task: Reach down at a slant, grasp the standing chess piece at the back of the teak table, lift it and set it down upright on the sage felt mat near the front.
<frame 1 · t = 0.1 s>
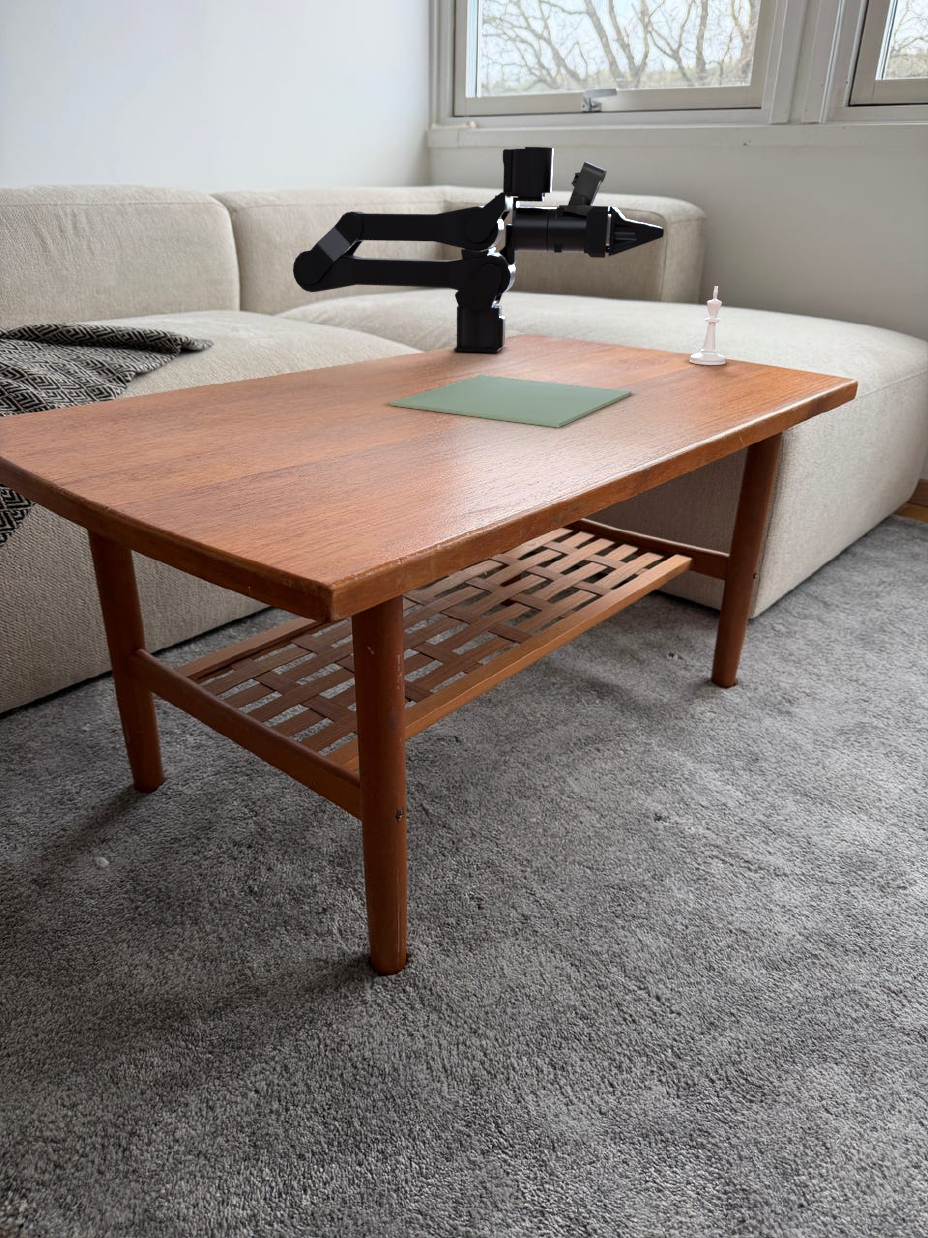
hand: (663, 231, 125), 17 cm above the table, tool horizontal, fingers open, 9 cm apart
felt mat: (514, 399, 102), on the table
chess piece: (707, 363, 127), on the table
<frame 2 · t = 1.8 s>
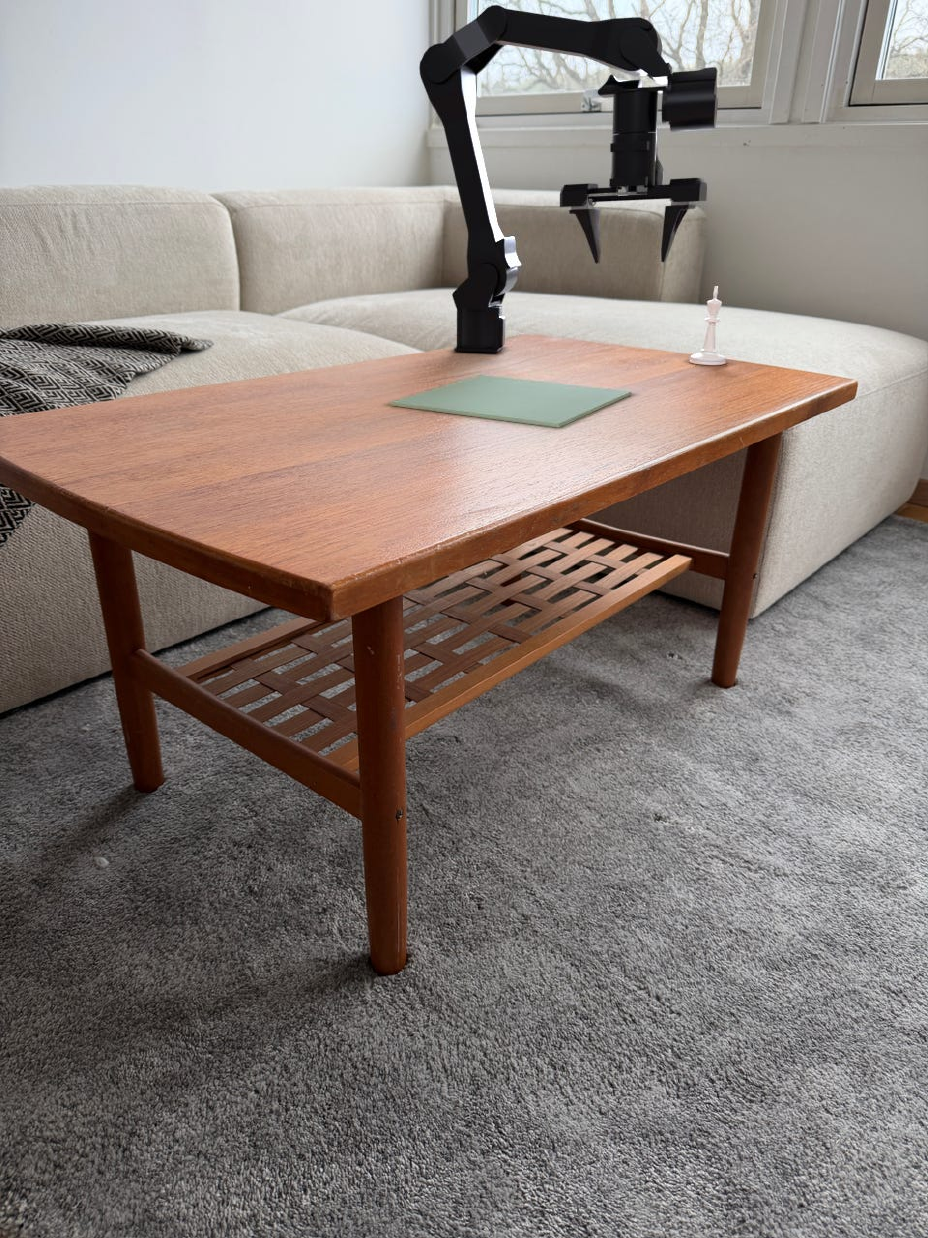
hand: (630, 262, 125), 13 cm above the table, tool pointing down, fingers open, 9 cm apart
nothing on the table moved.
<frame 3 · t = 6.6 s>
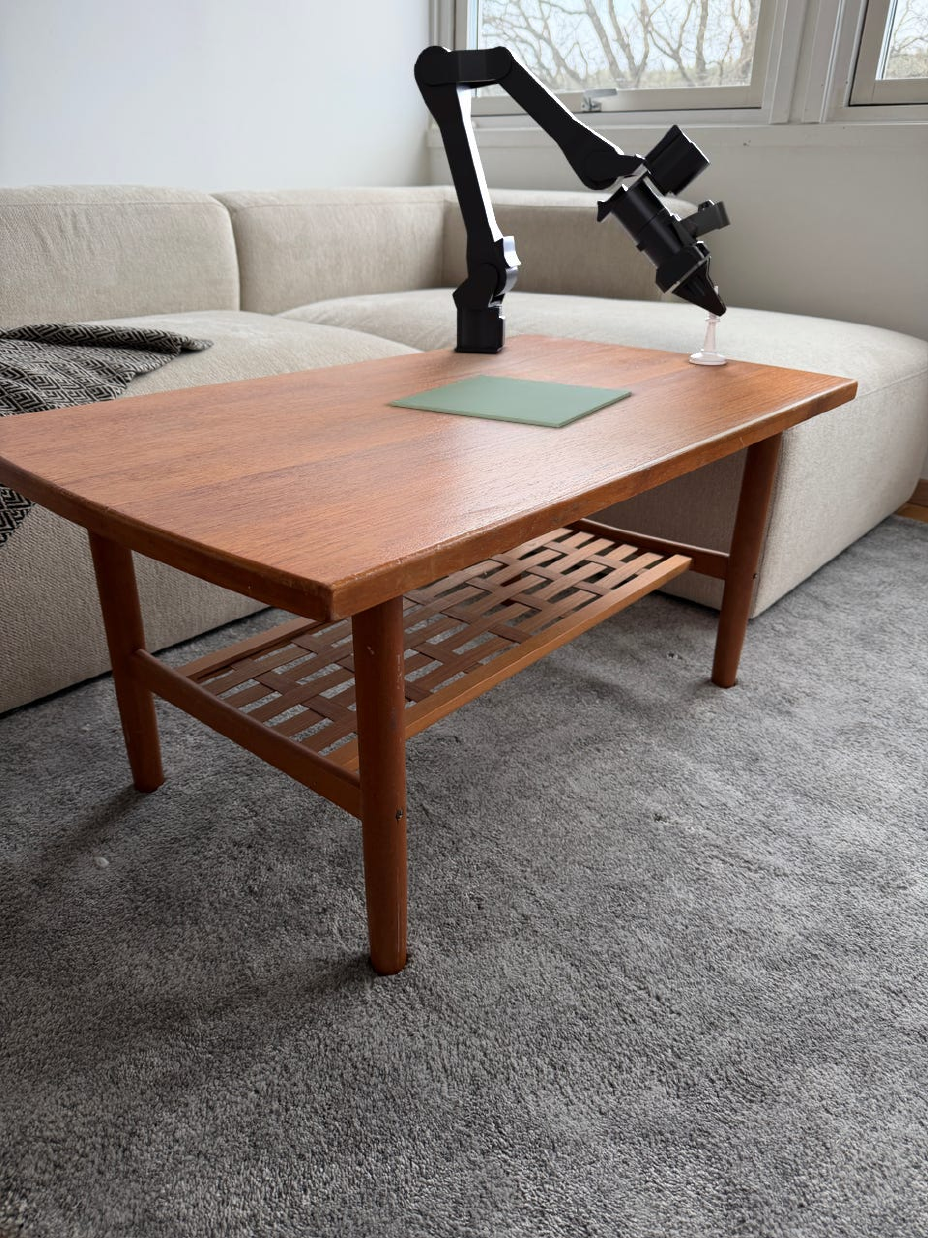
hand: (723, 313, 124), 7 cm above the table, tool tilted 45°, fingers closed on chess piece
chess piece: (707, 363, 127), on the table, touching gripper
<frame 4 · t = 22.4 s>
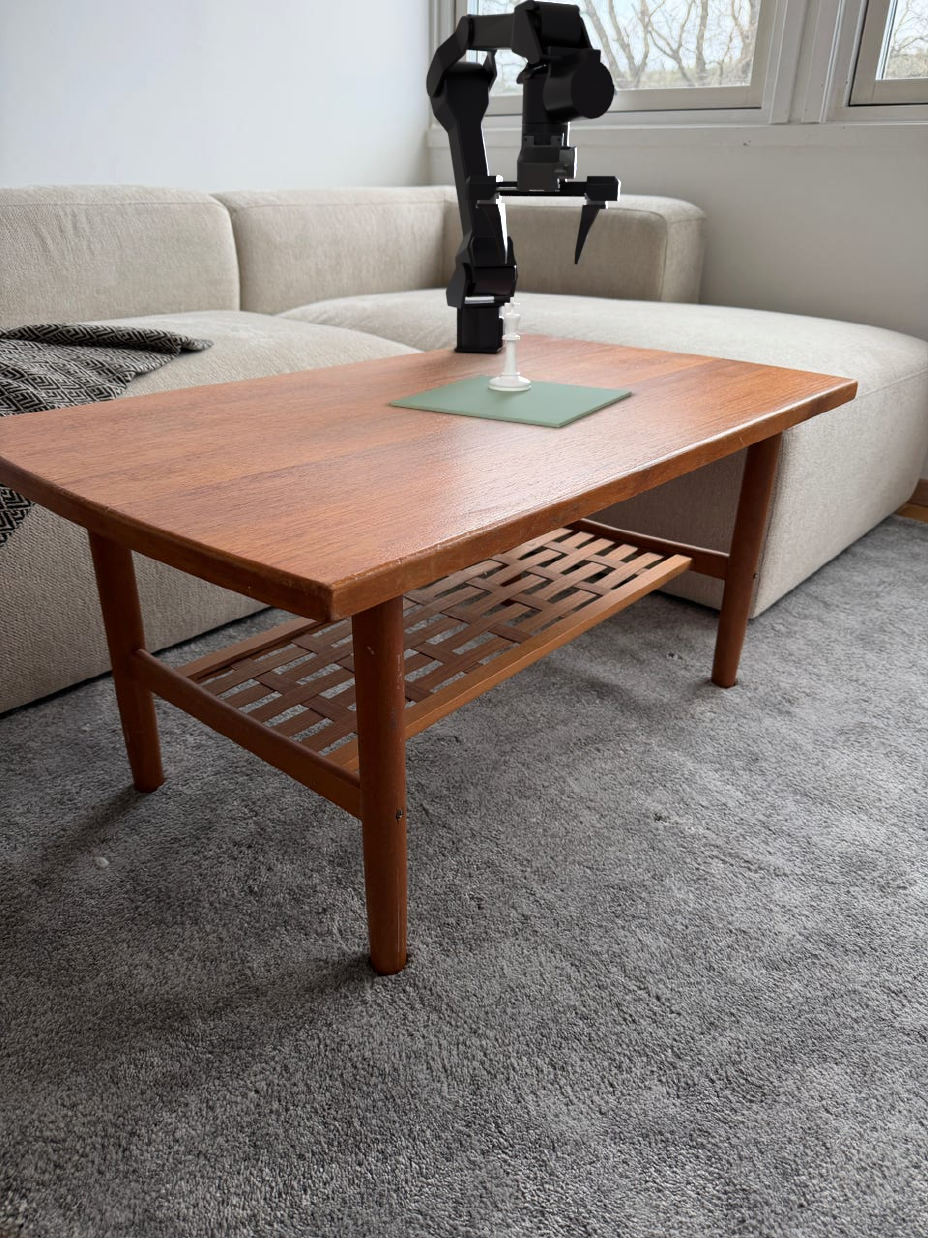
hand: (540, 263, 116), 13 cm above the table, tool pointing down, fingers open, 9 cm apart
chess piece: (509, 389, 107), resting on felt mat
at the end: chess piece inside the target area on the felt mat (5.2 cm from its centre), point 0.2 cm above the felt mat's base; chess piece tilted 0°; the gripper is holding nothing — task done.
